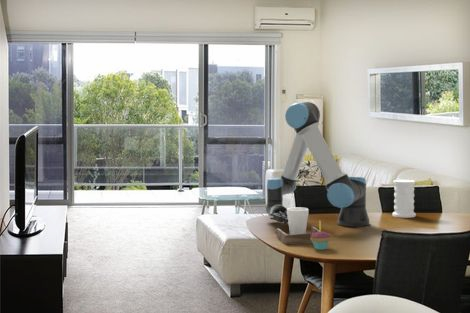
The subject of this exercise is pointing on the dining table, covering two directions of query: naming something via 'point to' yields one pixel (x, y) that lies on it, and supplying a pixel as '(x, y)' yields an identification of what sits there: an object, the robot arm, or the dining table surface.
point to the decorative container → (404, 198)
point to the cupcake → (320, 239)
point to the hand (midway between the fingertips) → (292, 222)
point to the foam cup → (297, 220)
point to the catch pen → (295, 237)
